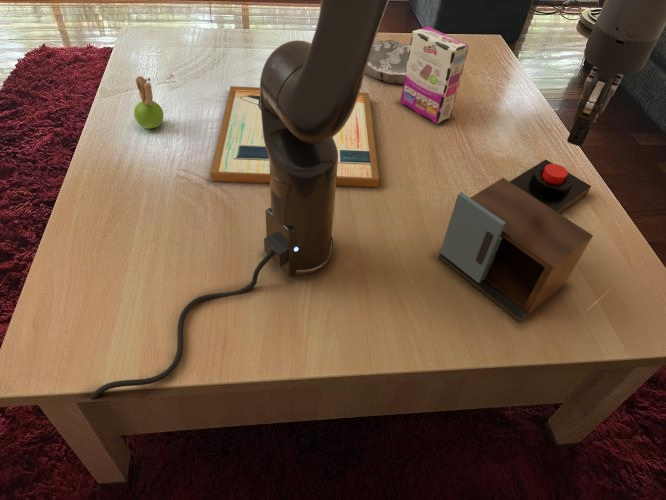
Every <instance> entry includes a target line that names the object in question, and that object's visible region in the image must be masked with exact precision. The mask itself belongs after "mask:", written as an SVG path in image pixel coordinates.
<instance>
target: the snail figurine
mask: <svg viewBox="0 0 666 500" xmlns="http://www.w3.org/2000/svg"><path fill="white" fill-rule="evenodd" d="M150 81H151V78H150V77H147V78H144V76H140V75H139V76H137V77H136V78H135V83H136V86H137V89H138V91H139V98H140V100H141V101H140V102H138V103H137V105H135V108H134V110H133V114H134V115H133V116H134V119H135V122H137V124H138V125H139V126H141V127H143V128H144V129H149V130H150V129H156V128H158V127H159V126H160V125H161V124H162V123H163V120H164V111H163V108H162V107H161V105H160V104H159V103H158V102H156V101H154V100H153V98H154V97H153V91H152V85H151V82H150Z"/></svg>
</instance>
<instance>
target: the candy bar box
mask: <svg viewBox="0 0 666 500" xmlns="http://www.w3.org/2000/svg"><path fill="white" fill-rule="evenodd" d="M409 44H410V49H409V55H408V61H407V67H406V72H405V78H404V84H402V89H401V90H402V91H401V96H400V101H399V102H400V104H401V105H403V106H404V107H406V108H408V109H410V110H411V111H413V112H414V113H416V114H418V115H420V116H422V117H423V118H424V119H427V120H429V122H432V123H434V124H436V125H439V124H441V123H444V122H445V121H447V120H450V119H451V117H452V114H453V110H454V106H455V101H456V98H457V94H458V90H459V86H460V82H461V78H462V74H463V70H464V66H465V63H466V58H467V54H468V52H469V51H468V50H469V47H470V45H469V44H467V43H465V42H463V41H461V40H458V39H457V38H454V37H452V36H450V35H448V34H445V33H443V32H441V31H439V30H437V29H435V28H432V27H430V26H428V25H426V26H423V27H420V28H418V29H415V30H413V31H412V32H411V38H410V43H409Z"/></svg>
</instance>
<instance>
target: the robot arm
mask: <svg viewBox="0 0 666 500" xmlns="http://www.w3.org/2000/svg"><path fill="white" fill-rule="evenodd" d="M389 2H390V0H320V9H319V14H318V19H317V23H316V27H315V31H314V34H313V37H312V40H311V42H310V41H305V40H290V41H287V42H284V43H282V44H281V45H279V46H277V47H276V48H275V49H274V50H273V51H272V52H271V53H270V55H269V56H268V57H267V59H266V61H265V62H264V65H263V68H262V69H261V70H262V71H261V75H260V79H259V80H260V81H259V88H260V103H261V116H262V128H263V138H264V143H265V147H266V150H267V153H268V156H269V164H270V183H269V186H270V187H269V189H270V193H269V194H270V207H269V208H266V209H265V212H264V213H265V234H266V236H265V237H264V238H263V246H264V247H263V249H264V250H263V251H264V252H265V253H266V255H265V256H264V257H263V258H262V259H261V261H259V263H258V264H257V266H256V267H255V269H254V271H253V274H252V277H251V281H250V282H249V283H248V284H247V285H246V286H244V287H242V288H240V289H237V290H233V291H228V292H227V291H226V292H215V293H209V294H204V295H201V296H198V297H196V298H194V299H193V300H191V301H190V302H189V303H188V304H187V305H186V306H185V307H184V308H183V309H182V311H181V313H180V314H179V317H178V320H177V331H176V332H177V345H176V346H177V347H176V353H175V356H174V359H173V360H172V363H171V364H170V365H169V366H168V367H167V368H166V369H165V370H164V371H163V372H161V373H158V374H157V375H155V376H152V377H147V378H138V379H123V380H116V381H111V382H107V383H105V384H103V385H101V386H100V387H98V388H97V389H96V390H95V391H93V393H92V394H91V396H90V398H89V399H90V400H92V401H94V400H97V399H98V398H99V397H100V395H102V394H104V393H105V392H107V391H109V390H112V389H115V388H122V387H135V386H146V385H150V384H155V383H157V382H159V381H161V380H164V379H165V378H167V377H168V376H169V375H171V374H172V373H173V371H174V370H176V368H177V367H178V365H179V364H180V362H181V358H182V356H183V353H184V324H185V319H186V316H187V314H188V313H189V311H190V310H191V309H193V307H194V306H196V305H197V304H199V303H202V302H204V301H209V300H214V299H221V298H225V297H232V296H239V295H243V294H245V293H248V292H249V291H250V290H252V289H253V288H254V287H255V286H256V284H257V282H258V278H259V274H260V272H261V270H262V269H263V267H264V266H266V264H267V263H268V262H269V261H270V260H272V261H273V262H274V263H275V264H276V265H277V267H279V268H280V269H281V270H282V271H283V272H284V273H285V274H286V275H287V276H288V277H293V276H294V275H309V274H313V273H316V272H319V271H320V270H322V269H323V268H324V267H326V266H327V264H328V263H329V262H330V260H331V256H332V247H334V239H333V225H334V214H335V201H336V191H337V186H336V180H337V168H338V150H337V147H336V144H335V142H334V139H333V137H334V136H335V135H336V134H337V133H338V132H339V131H340V130H341V129H342V128H343V127H344V125H345V124H346V122H347V121H348V119H349V117H350V115H351V113H352V111H353V109H354V107H355V104H356V101H357V98H358V95H359V92H360V91H361V88H362V84H363V81H364V77H365V75H366V74H365V71H366V68H367V64H368V61H369V57H370V54H371V51H372V47H373V44H374V42H376V38H377V34H378V32H379V28H380V26H381V23H382V20H383V18H384V15H385V12H386V10H387V8H388V6H389ZM665 27H666V0H604V2H603V5H602V7H601V10H600V12H599V14H598V17H597V19H596V22H595V24H594V27H593V29H592V31H591V33H590V36H589V38H588V40H587V42H586V46H585V48H584V50H583V56H584V58H585V60H586V61H587V62H588V63H589V64H591V65H593V67H592V69H591V71H590V73H588V75H587V77H586V79H585V82H584V83H583V90H582V93H581V96H580V98H579V99H578V103H577V110H576V113H575V115H574V116H573V125H572V128H571V130H570V133H569V134H568V136H567V140H566V141H567V143H568V144H571V145H574V146H577V147H582V146H583V144H584V143H585V140H586V138H587V136H588V134H589V132H590V130H591V128H592V126H594V125H595V124H596V122H597V119H598V118H599V115H601V114H603V113H604V111H605V109H606V107H607V106H608V104H609V101H610V99H611V98H612V97H613V96H614V95H615V93H616V90H617V89H618V87H619V84H621V81H622V79H623V77H624V75H631V74H636V73H638V72H640V71H642V70H643V69H644V68H645V66H646V63H647V62H648V60H649V59H650V56H651V54H652V53H653V51H654V48H655V46H656V44H657V42H658V41H659V38H660V36H661V35H662V32H663V31H664V29H665ZM623 74H624V75H623Z"/></svg>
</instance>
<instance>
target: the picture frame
mask: <svg viewBox="0 0 666 500" xmlns="http://www.w3.org/2000/svg"><path fill="white" fill-rule="evenodd" d="M225 104H226V105H225V108H224V113H223V116H222V121H221V126H220V130H219V134H218V138H217V142H216V146H215V151H214V156H213V160H212V164H211V168H210V172H209V173H210V180H211V182H225V183H228V182H229V183H250V184H251V183H253V184H270V164H269V156H268V153H267V150H266V147H265V143H264V138H263V128H262V116H261V103H260V87H256V86H235V85H230V86H229V91H228V96H227V99H226V103H225ZM371 108H372V107H371V99H370V93H369V92H359V95H358V98H357V101H356V104H355V107H354V109H353V111H352V113H351V115H350V117H349V119H348V121H347V122H346V124H345V125H344V127H343V128H342V129H341V130H340V131H339V132H338V133H337V134H336V135H335V136H334V137H333V139H334V142H335V144H336V147H337V150H338V168H337V180H336V187H356V188H358V187H359V188H379V184H380V176H379V175H380V174H379V166H378V158H377V151H376V141H375V134H374V124H373V116H372V109H371Z"/></svg>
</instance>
